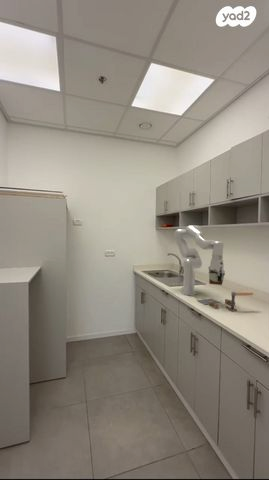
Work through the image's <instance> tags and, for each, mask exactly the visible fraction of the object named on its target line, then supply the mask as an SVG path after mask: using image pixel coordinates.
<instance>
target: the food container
mask: <svg viewBox="0 0 269 480" xmlns="http://www.w3.org/2000/svg"><path fill="white" fill-rule="evenodd" d="M207 273H208V278H209V279H208V280H209V281H208V282H209V285H216V286H222V285H223V282H224V279H225V276H226V273H224V274H223V275H222V277H221V281H217V280H218V276H219V275H218V272H214V271H211V270H210V271H209V270H208V272H207Z"/></svg>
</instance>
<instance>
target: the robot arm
mask: <svg viewBox="0 0 269 480" xmlns="http://www.w3.org/2000/svg"><path fill="white" fill-rule="evenodd" d="M202 230H203V229H202V227H201V226H200V225H196V224H195V225H192V224H191V225H188V226H186V228H178V229H176V230H175V231H174V233H173V235H174V241H175V243H176V245H177V246H178V249H179V252H180V255H181V257H182V258H183V259H184V260H183V262H182V265H183V266H182V267H183V286H182V287H181V292H180V293H181V294H182V295H186V296H195V295H196V294H197V293H196V291H195V279H196V278H195V276H196V274H195V271H194V269H200V268H201V267H202V265H203V262H202V258H201V256H200V254H199V251H198V250H197V249H196V248H195V247H189V245H188V242H187V240H186V239H191V238H192V239H194V241H195V245H197V246H198V247H199V248H201V249H202V250H206V251H207V250H211V251H212V253H211V259H210V264H209V266H208V272H209V271H210V270H211V271H214V272H218V275H219V276H218V280H217V281H221V277H222V275H223V274H224V273H225V270H224V257H223V254H224V242H223V241H220V240H219V241H218V240H214V239H205V238H203V237H204V233H203V232H202ZM225 274H226V273H225Z"/></svg>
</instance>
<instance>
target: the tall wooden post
mask: <svg viewBox="0 0 269 480" xmlns="http://www.w3.org/2000/svg"><path fill="white" fill-rule="evenodd" d="M230 294H231V297H232V296H235V297H238V296H243V297H244V296H253V295H254V293H253V291H231V292H230Z"/></svg>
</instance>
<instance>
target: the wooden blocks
mask: <svg viewBox="0 0 269 480" xmlns="http://www.w3.org/2000/svg"><path fill="white" fill-rule="evenodd" d="M235 299H236V296H231V299H228V298H225V299H224V304H226V305H225V306H224V307H225V309H227V310H228V311H230V312H237V311H238V310H237V309H236V308H235V307H236V301H235ZM219 304H220V303H214V302H212V301H208V305H207V306H208V307H211V308H213V309H219V306H220V305H219ZM228 305H229V306H228Z"/></svg>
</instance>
